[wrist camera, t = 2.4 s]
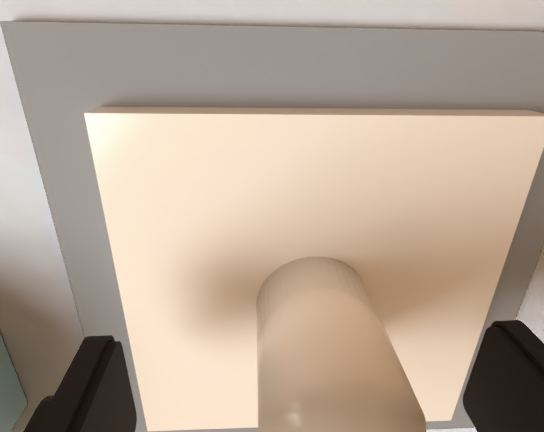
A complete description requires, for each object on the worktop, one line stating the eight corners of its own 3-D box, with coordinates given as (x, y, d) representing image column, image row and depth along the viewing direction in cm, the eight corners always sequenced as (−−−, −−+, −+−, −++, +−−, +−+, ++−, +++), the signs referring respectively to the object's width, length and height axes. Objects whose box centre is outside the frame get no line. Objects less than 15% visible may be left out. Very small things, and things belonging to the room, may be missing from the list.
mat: (611, 33, 10) (625, 32, 10) (468, 419, 17) (473, 427, 17) (9, 21, 9) (-1, 21, 9) (115, 432, 16) (112, 440, 16)
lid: (528, 109, 11) (772, 173, 6) (439, 398, 16) (525, 563, 11) (99, 106, 10) (-52, 174, 5) (153, 407, 15) (105, 587, 10)
